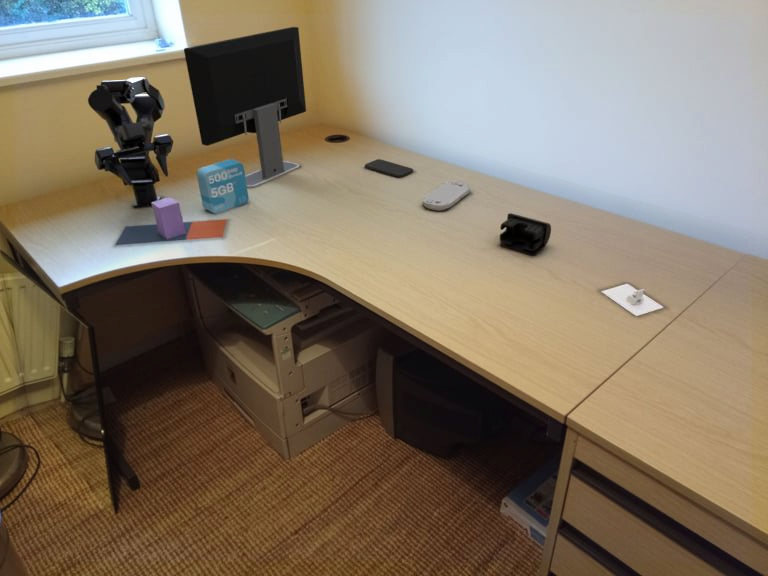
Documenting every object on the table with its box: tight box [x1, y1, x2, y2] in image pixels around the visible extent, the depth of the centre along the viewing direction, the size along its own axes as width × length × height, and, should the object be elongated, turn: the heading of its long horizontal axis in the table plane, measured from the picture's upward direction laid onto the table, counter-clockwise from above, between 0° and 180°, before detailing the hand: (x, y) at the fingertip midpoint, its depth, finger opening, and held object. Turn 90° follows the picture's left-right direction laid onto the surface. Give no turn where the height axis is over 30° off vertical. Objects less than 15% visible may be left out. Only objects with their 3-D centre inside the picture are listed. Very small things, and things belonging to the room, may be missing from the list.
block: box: [151, 196, 186, 239], centre depth 147 cm, size 5×5×8 cm
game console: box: [422, 180, 471, 212], centre depth 163 cm, size 18×2×8 cm
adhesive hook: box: [625, 288, 645, 305], centre depth 117 cm, size 3×3×3 cm
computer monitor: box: [183, 26, 307, 188], centre depth 173 cm, size 41×8×40 cm, turn 144°
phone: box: [364, 158, 414, 178], centre depth 184 cm, size 7×1×15 cm
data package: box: [196, 158, 249, 214], centre depth 160 cm, size 12×4×12 cm, turn 135°
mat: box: [114, 218, 228, 246], centre depth 150 cm, size 26×10×1 cm, turn 97°
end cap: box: [499, 212, 552, 257], centre depth 138 cm, size 10×7×7 cm
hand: (149, 180), depth 147 cm, fingers open, 9 cm apart
